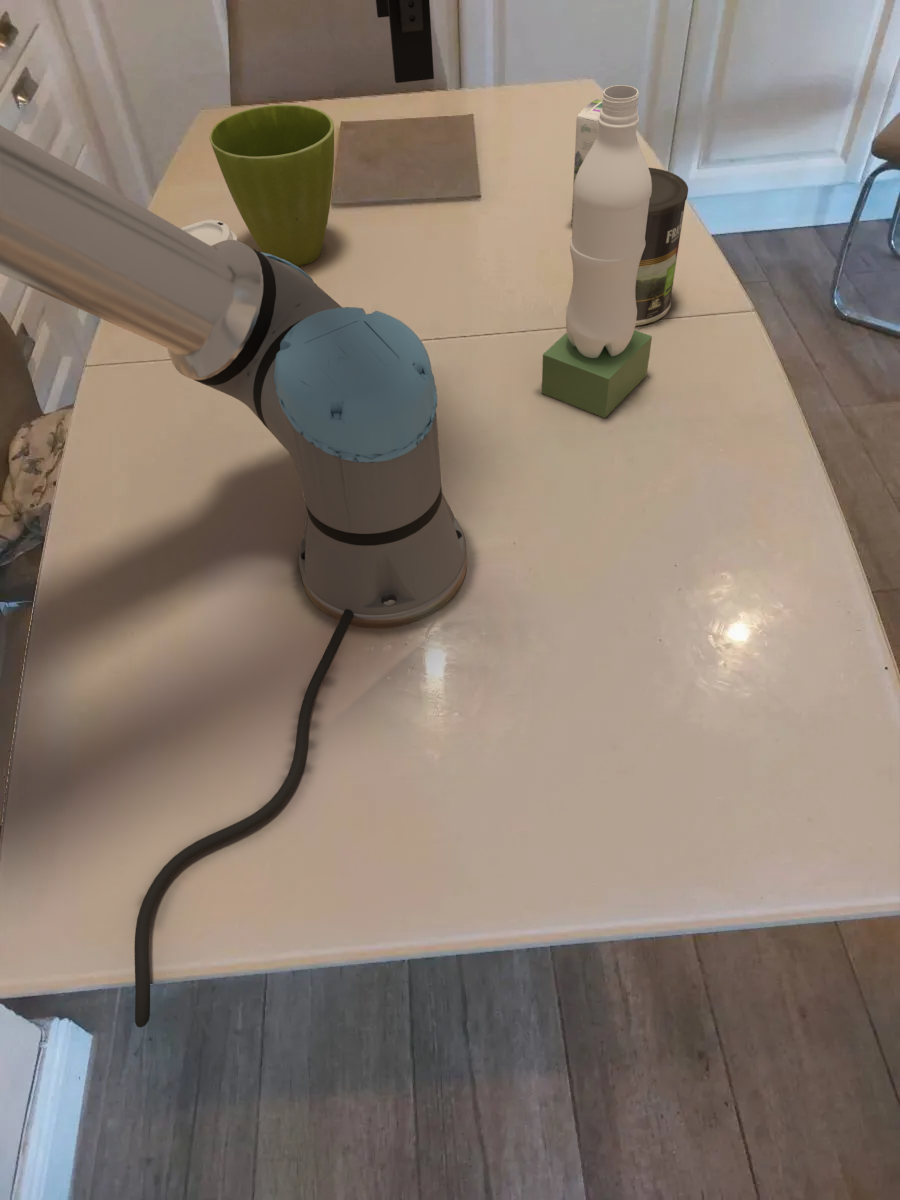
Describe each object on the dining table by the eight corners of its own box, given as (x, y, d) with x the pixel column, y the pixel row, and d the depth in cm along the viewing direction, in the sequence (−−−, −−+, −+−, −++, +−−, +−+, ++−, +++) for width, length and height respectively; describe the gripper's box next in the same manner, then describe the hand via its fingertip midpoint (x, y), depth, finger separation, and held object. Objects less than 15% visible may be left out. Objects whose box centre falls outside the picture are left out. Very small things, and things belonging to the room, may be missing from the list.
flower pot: (353, 222, 126) (336, 100, 114) (348, 279, 117) (330, 152, 104) (246, 229, 126) (218, 107, 114) (232, 286, 117) (200, 160, 105)
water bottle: (630, 367, 93) (661, 111, 74) (560, 362, 95) (573, 108, 75) (635, 328, 98) (666, 76, 79) (568, 323, 99) (583, 74, 80)
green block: (605, 418, 96) (609, 379, 92) (541, 393, 99) (542, 354, 96) (646, 375, 101) (652, 336, 97) (584, 352, 104) (587, 313, 100)
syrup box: (627, 217, 123) (638, 104, 112) (607, 237, 120) (617, 122, 109) (589, 208, 125) (597, 96, 114) (569, 227, 122) (575, 114, 111)
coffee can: (676, 285, 112) (694, 169, 101) (663, 331, 106) (681, 214, 95) (593, 275, 114) (602, 162, 104) (576, 320, 108) (584, 205, 97)
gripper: (469, -357, 44) (480, 105, 60) (410, -384, 60) (431, -13, 77) (315, -345, 44) (368, 117, 60) (298, -375, 60) (342, -4, 76)
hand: (403, 45), depth 68 cm, fingers open, 13 cm apart
